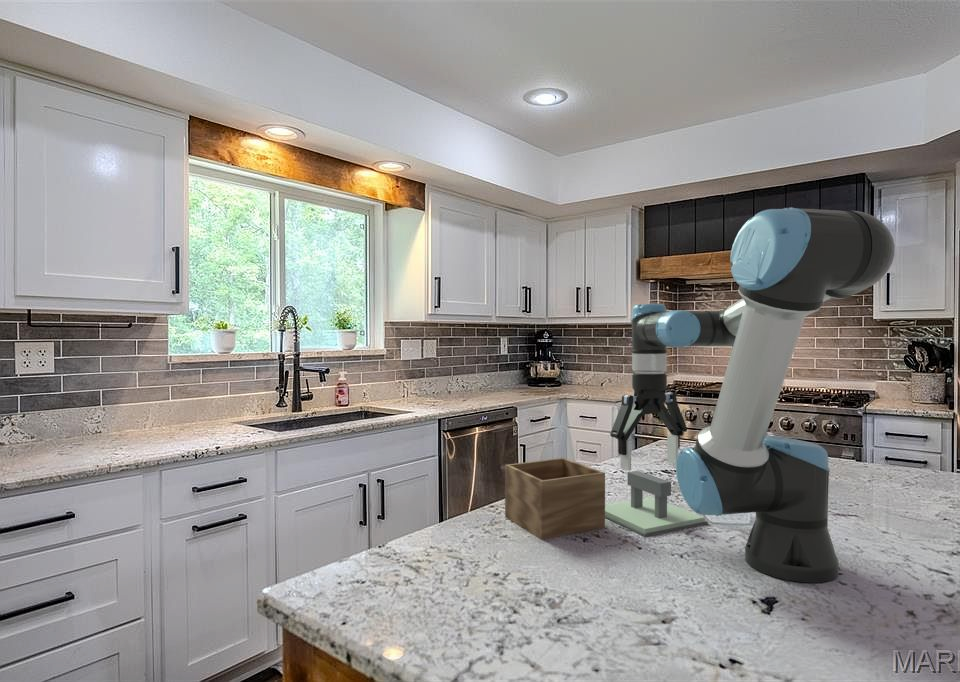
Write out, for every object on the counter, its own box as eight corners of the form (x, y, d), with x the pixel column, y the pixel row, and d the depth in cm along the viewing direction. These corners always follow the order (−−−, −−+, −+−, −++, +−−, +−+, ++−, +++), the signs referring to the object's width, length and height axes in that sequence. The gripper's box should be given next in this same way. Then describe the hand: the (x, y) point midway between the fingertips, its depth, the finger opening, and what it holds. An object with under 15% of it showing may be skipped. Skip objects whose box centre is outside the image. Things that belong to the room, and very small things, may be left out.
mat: (708, 523, 131) (708, 522, 131) (644, 536, 123) (644, 534, 123) (651, 501, 147) (651, 500, 147) (592, 512, 139) (592, 510, 139)
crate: (604, 527, 129) (605, 472, 128) (541, 539, 122) (541, 481, 121) (563, 507, 143) (563, 457, 143) (505, 516, 136) (504, 464, 136)
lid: (704, 521, 131) (705, 481, 131) (644, 533, 124) (644, 491, 124) (651, 501, 147) (651, 464, 146) (595, 510, 139) (595, 472, 139)
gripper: (679, 369, 143) (679, 457, 143) (594, 373, 132) (594, 468, 132) (703, 371, 136) (703, 463, 136) (615, 375, 125) (616, 475, 126)
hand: (649, 466), depth 134 cm, fingers open, 13 cm apart
